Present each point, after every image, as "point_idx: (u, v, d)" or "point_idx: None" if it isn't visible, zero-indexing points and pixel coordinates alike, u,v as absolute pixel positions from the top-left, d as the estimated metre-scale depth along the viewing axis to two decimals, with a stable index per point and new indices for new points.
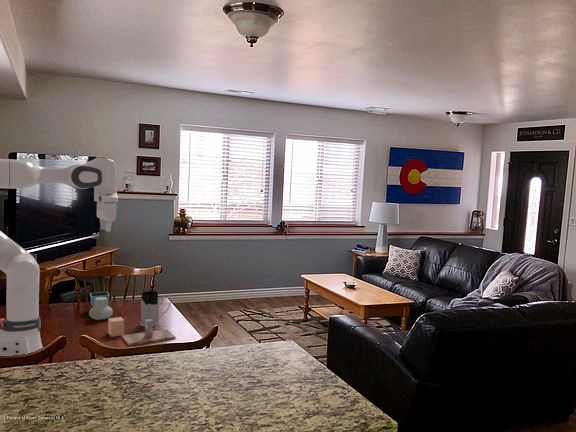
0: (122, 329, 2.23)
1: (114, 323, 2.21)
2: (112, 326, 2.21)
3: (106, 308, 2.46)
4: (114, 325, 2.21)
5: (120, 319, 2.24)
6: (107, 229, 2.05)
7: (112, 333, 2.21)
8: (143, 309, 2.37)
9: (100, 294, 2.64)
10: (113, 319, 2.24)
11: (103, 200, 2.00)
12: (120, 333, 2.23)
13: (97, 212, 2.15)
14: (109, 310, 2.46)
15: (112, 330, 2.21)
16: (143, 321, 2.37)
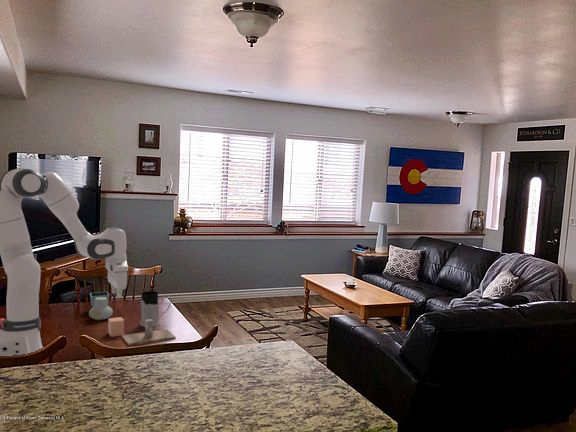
0: (122, 329, 2.23)
1: (114, 323, 2.21)
2: (112, 326, 2.21)
3: (106, 308, 2.46)
4: (114, 325, 2.21)
5: (120, 319, 2.24)
6: (118, 296, 2.18)
7: (112, 333, 2.21)
8: (143, 309, 2.37)
9: (100, 294, 2.64)
10: (113, 319, 2.24)
11: (114, 270, 2.14)
12: (120, 333, 2.23)
13: (108, 277, 2.28)
14: (109, 310, 2.46)
15: (112, 330, 2.21)
16: (143, 321, 2.37)
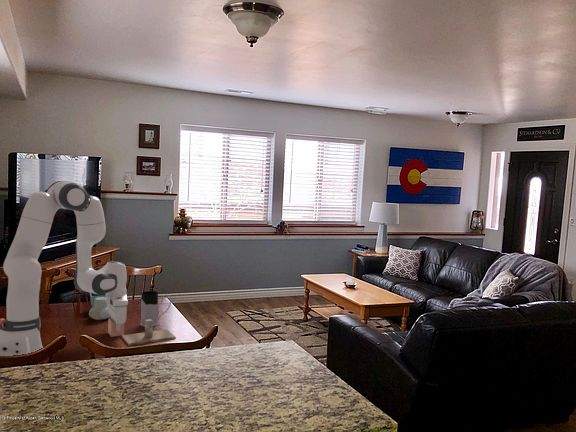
0: (122, 329, 2.23)
1: (114, 323, 2.21)
2: (112, 326, 2.21)
3: (106, 308, 2.46)
4: (114, 325, 2.21)
5: None
6: (117, 329, 2.20)
7: (112, 333, 2.21)
8: (143, 309, 2.37)
9: (100, 294, 2.64)
10: None
11: (114, 304, 2.15)
12: (120, 333, 2.23)
13: (108, 309, 2.29)
14: None
15: (112, 330, 2.21)
16: (143, 321, 2.37)
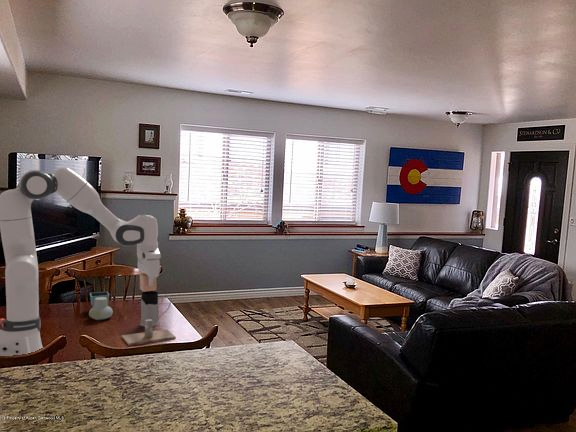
0: (154, 284, 2.17)
1: (146, 278, 2.15)
2: (144, 281, 2.15)
3: (106, 308, 2.46)
4: (146, 280, 2.15)
5: None
6: (149, 283, 2.15)
7: (144, 288, 2.15)
8: (143, 309, 2.37)
9: (100, 294, 2.64)
10: (145, 274, 2.18)
11: (147, 257, 2.09)
12: (152, 288, 2.17)
13: (138, 265, 2.24)
14: (109, 310, 2.46)
15: (144, 285, 2.15)
16: (143, 321, 2.37)
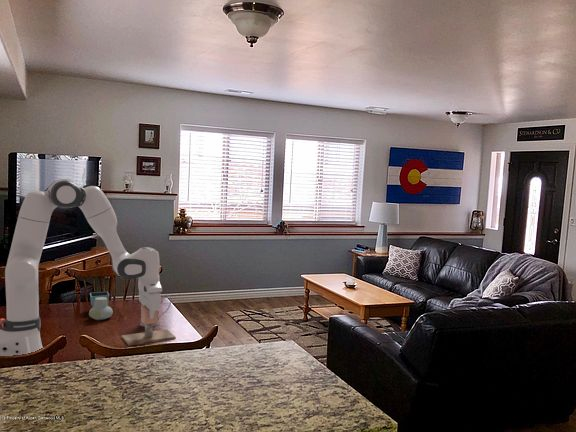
0: (155, 317, 2.18)
1: (148, 310, 2.16)
2: (146, 313, 2.16)
3: (106, 308, 2.46)
4: (148, 312, 2.16)
5: None
6: (150, 316, 2.15)
7: (146, 321, 2.16)
8: None
9: (100, 294, 2.64)
10: None
11: (148, 291, 2.10)
12: (153, 321, 2.18)
13: (140, 297, 2.24)
14: (109, 310, 2.46)
15: (146, 318, 2.16)
16: None
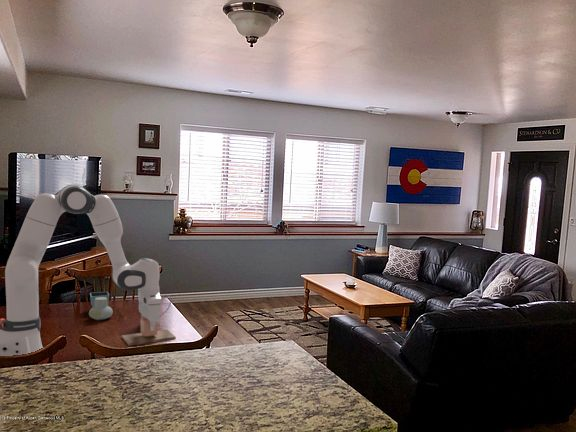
0: (155, 329, 2.18)
1: (147, 322, 2.16)
2: (145, 326, 2.16)
3: (106, 308, 2.46)
4: (147, 324, 2.16)
5: None
6: (151, 328, 2.15)
7: (145, 333, 2.16)
8: None
9: (100, 294, 2.64)
10: (146, 318, 2.19)
11: (148, 303, 2.10)
12: (153, 333, 2.18)
13: (139, 307, 2.25)
14: (109, 310, 2.46)
15: (145, 330, 2.16)
16: None
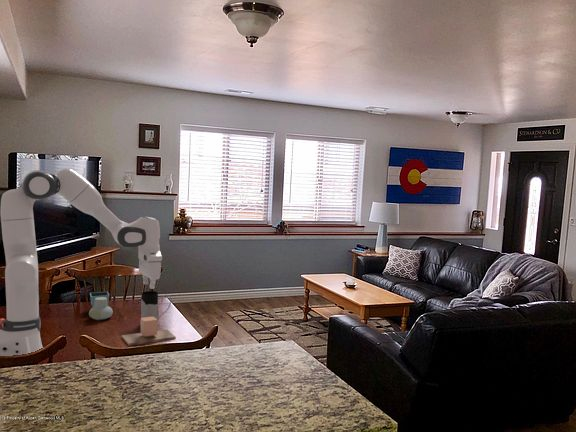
0: (155, 329, 2.18)
1: (147, 322, 2.16)
2: (145, 326, 2.16)
3: (106, 308, 2.46)
4: (147, 324, 2.16)
5: (153, 318, 2.19)
6: (151, 286, 2.13)
7: (145, 333, 2.16)
8: (143, 309, 2.37)
9: (100, 294, 2.64)
10: (146, 318, 2.19)
11: (148, 260, 2.08)
12: (153, 333, 2.18)
13: (140, 267, 2.23)
14: (109, 310, 2.46)
15: (145, 330, 2.16)
16: None
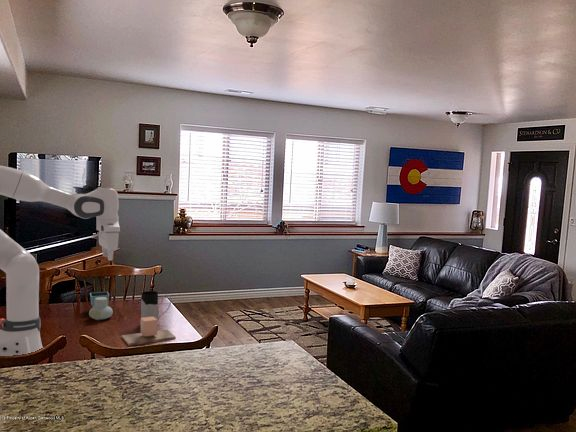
0: (155, 329, 2.18)
1: (147, 322, 2.16)
2: (145, 326, 2.16)
3: (106, 308, 2.46)
4: (147, 324, 2.16)
5: (153, 318, 2.19)
6: (109, 258, 2.08)
7: (145, 333, 2.16)
8: (143, 309, 2.37)
9: (100, 294, 2.64)
10: (146, 318, 2.19)
11: (105, 230, 2.04)
12: (153, 333, 2.18)
13: (99, 240, 2.18)
14: (109, 310, 2.46)
15: (145, 330, 2.16)
16: None
